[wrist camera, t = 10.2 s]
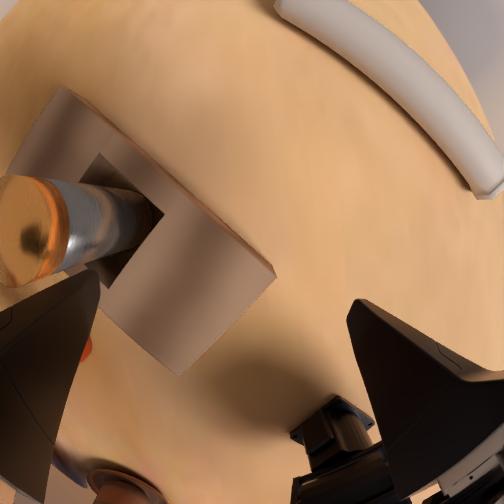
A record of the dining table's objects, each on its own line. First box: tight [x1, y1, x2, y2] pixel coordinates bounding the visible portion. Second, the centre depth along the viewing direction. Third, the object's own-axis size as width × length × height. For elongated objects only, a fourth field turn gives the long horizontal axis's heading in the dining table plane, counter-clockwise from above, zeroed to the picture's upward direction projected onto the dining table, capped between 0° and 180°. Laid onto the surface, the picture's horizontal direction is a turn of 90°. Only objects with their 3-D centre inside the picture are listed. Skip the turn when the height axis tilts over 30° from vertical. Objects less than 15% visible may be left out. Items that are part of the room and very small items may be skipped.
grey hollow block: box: [5, 85, 277, 377], centre depth 19 cm, size 22×10×4 cm, turn 48°
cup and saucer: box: [87, 469, 169, 504], centre depth 23 cm, size 12×12×6 cm
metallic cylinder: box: [0, 175, 152, 288], centre depth 15 cm, size 5×5×13 cm
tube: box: [273, 0, 504, 200], centre depth 17 cm, size 5×5×25 cm
